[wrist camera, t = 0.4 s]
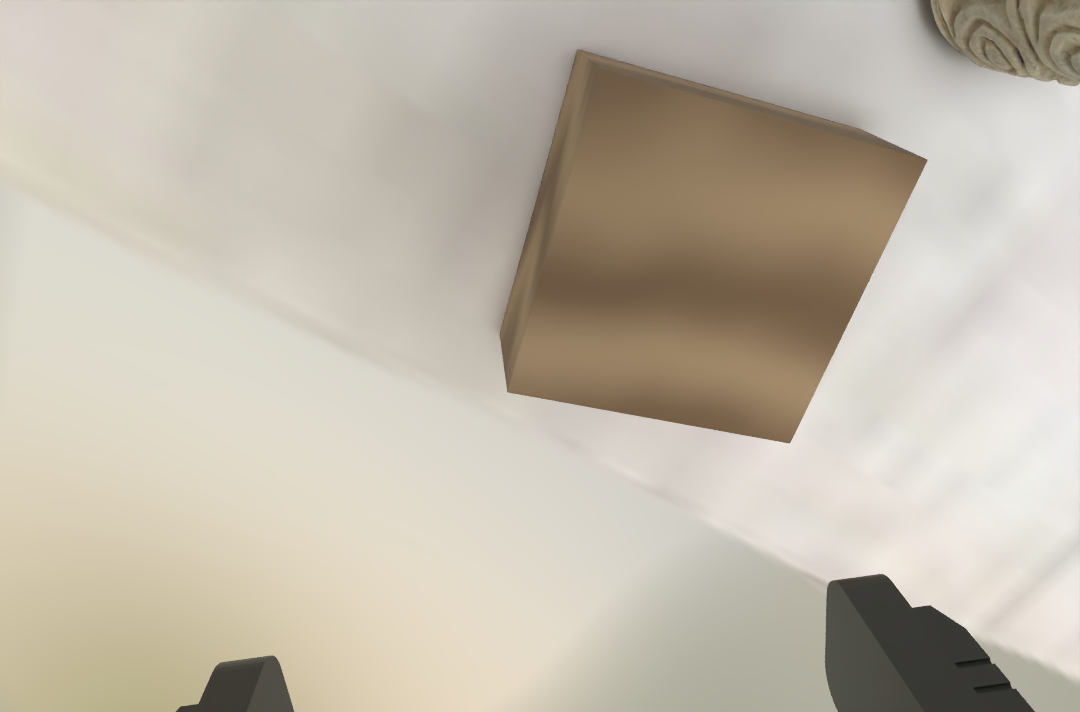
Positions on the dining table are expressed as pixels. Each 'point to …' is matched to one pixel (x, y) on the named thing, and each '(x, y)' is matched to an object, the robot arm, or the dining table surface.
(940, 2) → the carving
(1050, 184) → the dining table surface
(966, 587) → the dining table surface
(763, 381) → the walnut block
